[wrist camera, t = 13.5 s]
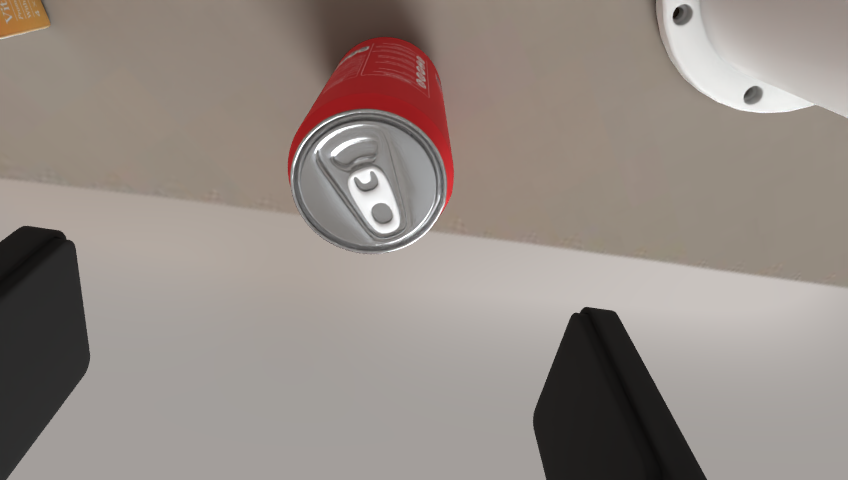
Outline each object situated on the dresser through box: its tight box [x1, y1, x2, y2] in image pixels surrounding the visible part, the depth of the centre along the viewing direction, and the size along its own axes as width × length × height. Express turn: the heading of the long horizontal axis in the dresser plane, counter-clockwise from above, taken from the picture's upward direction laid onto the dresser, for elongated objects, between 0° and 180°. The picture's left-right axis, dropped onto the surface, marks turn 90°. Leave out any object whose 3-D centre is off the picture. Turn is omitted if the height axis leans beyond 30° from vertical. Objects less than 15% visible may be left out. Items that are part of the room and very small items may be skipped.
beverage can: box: [288, 37, 454, 254], centre depth 22 cm, size 5×5×12 cm
